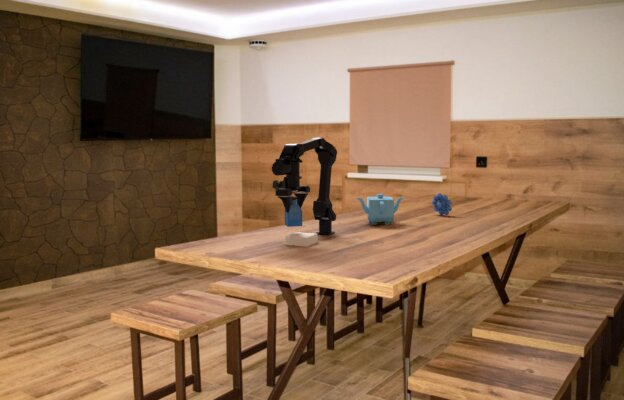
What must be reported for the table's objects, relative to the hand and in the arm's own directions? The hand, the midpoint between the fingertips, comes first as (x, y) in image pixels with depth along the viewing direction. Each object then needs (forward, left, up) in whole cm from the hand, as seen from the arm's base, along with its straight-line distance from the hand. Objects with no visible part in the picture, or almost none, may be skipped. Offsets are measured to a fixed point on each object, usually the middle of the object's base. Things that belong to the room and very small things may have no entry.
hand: (293, 211), depth 251 cm
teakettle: (-63, +13, -13) cm, 66 cm away
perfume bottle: (0, 0, -6) cm, 6 cm away
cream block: (+2, +5, -13) cm, 14 cm away
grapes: (-100, +33, -13) cm, 106 cm away
